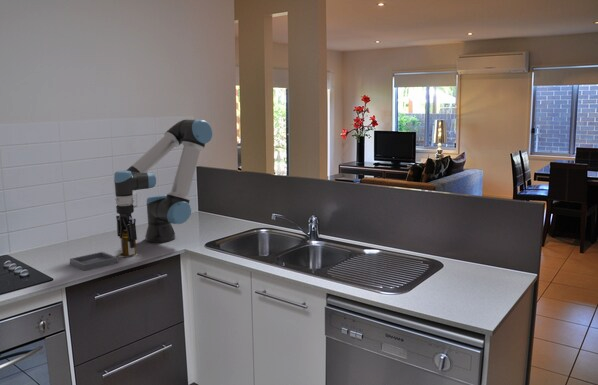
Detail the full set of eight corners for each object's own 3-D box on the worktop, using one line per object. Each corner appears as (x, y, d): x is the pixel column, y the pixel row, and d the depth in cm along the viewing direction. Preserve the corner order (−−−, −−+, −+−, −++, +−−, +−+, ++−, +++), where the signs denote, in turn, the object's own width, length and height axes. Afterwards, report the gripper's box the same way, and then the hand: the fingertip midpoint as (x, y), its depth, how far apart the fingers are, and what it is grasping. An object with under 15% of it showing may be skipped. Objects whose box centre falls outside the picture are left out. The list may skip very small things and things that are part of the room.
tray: (102, 256, 235) (102, 251, 235) (117, 262, 226) (117, 257, 225) (70, 264, 224) (69, 258, 224) (84, 270, 215) (83, 265, 215)
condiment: (138, 255, 237) (136, 230, 235) (119, 258, 233) (117, 232, 231) (136, 251, 243) (134, 227, 241) (117, 253, 240) (115, 229, 238)
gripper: (107, 203, 238) (110, 251, 242) (127, 208, 225) (131, 258, 229) (122, 200, 243) (125, 247, 247) (143, 205, 230) (146, 255, 234)
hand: (128, 252), depth 238 cm, fingers closed on condiment, 6 cm apart
